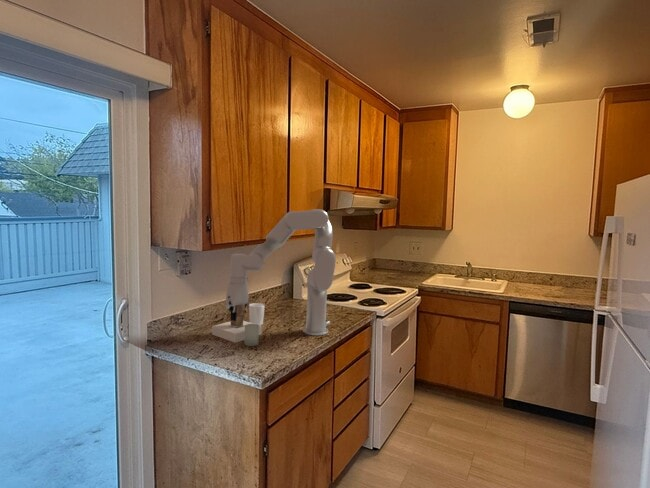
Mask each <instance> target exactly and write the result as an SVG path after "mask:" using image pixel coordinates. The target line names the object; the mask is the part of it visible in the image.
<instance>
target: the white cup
mask: <svg viewBox="0 0 650 488" xmlns="http://www.w3.org/2000/svg"><path fill="white" fill-rule="evenodd" d="M265 308H266V307H265V304H264V303H261V302H253V303H249V304H248V316H249V318H248V319H249V322H250V323H253V324H257V325H260V326H262V325H264V315H265Z"/></svg>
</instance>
